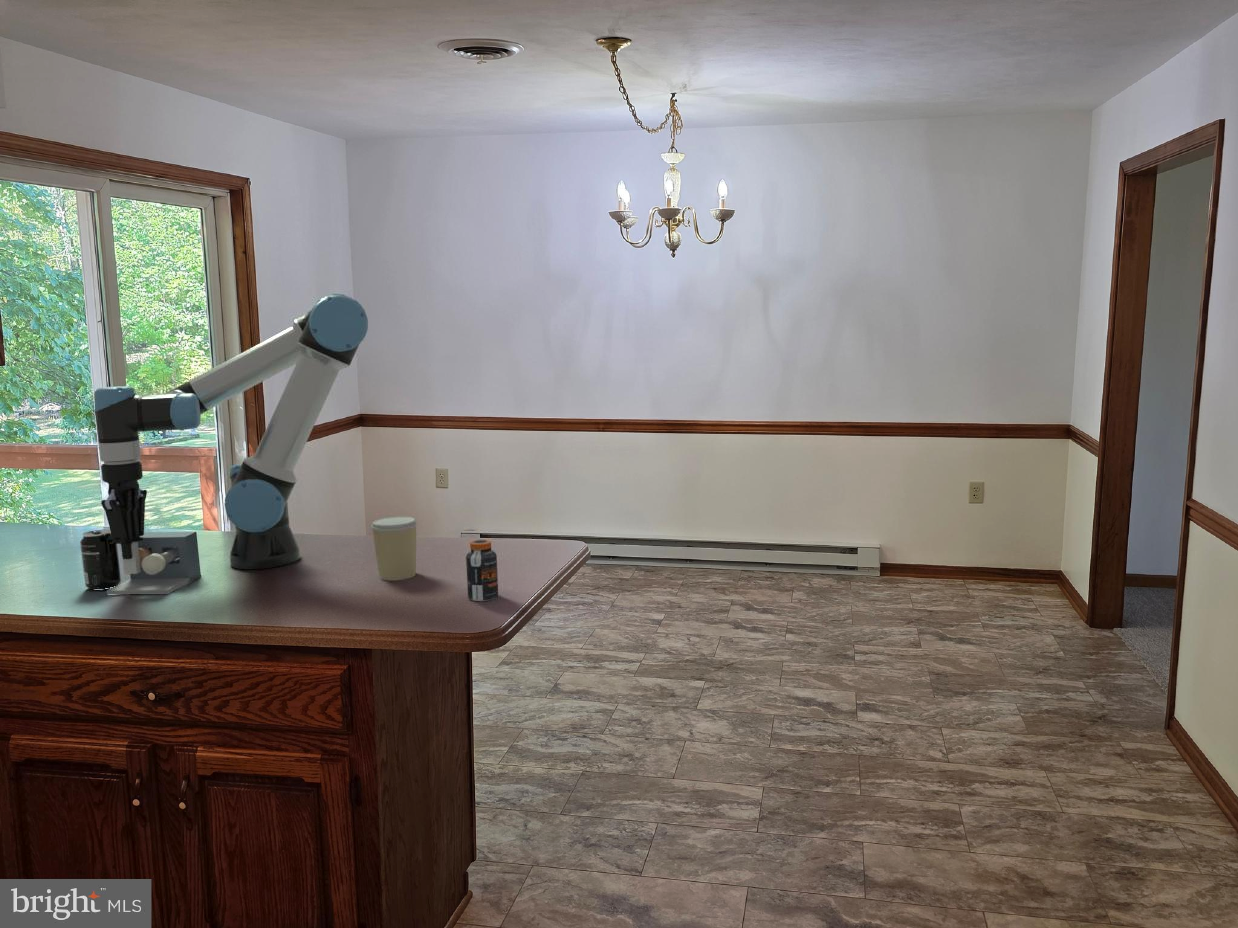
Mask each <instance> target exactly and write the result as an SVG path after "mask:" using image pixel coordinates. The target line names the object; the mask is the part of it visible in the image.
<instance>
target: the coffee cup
mask: <svg viewBox="0 0 1238 928" xmlns="http://www.w3.org/2000/svg"><path fill="white" fill-rule="evenodd" d="M371 530H372V535H373V543H374V550H375V557H376V565H377V571H378V577H379V578H380V580H382V581H391V582H392V581H402V580H408V579H411V578H414V577H415V576H416V575H417V574H416V573H417V521H416V519H415V517H414V518H413V517H410V516H391V517H383V518H379V519H376V520H374V521H373V522H372V524H371Z"/></svg>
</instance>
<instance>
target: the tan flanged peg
mask: <svg viewBox="0 0 1238 928" xmlns="http://www.w3.org/2000/svg"><path fill="white" fill-rule="evenodd" d="M138 549H139V560H140V568H141V567H142V560H143V559H144V558H145V557H147V556H149V555H151V554H152V551H151V548H145V547H140V548H138Z"/></svg>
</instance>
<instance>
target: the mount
mask: <svg viewBox="0 0 1238 928" xmlns="http://www.w3.org/2000/svg"><path fill="white" fill-rule="evenodd" d="M140 537H143V540H142V541H138V548H140V547H145V548H151V551H152V554H154V553H157V554H162V553H164V552H166V551H168V550H170V549H172V548H175V547H178V549H179V558H178V559H176V560H174V561H172V562H170V563H168V564H166V565H165V568H164V569H163V570H162V571H160V572H158V573H156V574H154V575H150V574H147V573H146V572H145V571H144V570H143V568H142V567H141V568H140V570H141V572H139V573H137V574H130V576H129V577H130V578H129V579H127V580H125V581H123V582H122V583H121V582H120V583H119V584H118V585H117V586H115V587H113V588H111V589H108V590H106V595H107V594H168V595H170V594H172V593H174V592H175V591H177V590H179V589H181V588H182V587H184V586H186V585H187V584H188V585H189V583H191V582H193V581H195V580H196V579H199V578H200V577H201V576H202V575H201V574H202V573H201V572H202V571H201V562H200V554H199V544H198V534H197V531H163V532H162V531H158V532H156V531H155V532H154V531H153V532H150V531H149V532H144V535H143V536H140ZM180 587H181V588H180ZM176 589H177V590H176ZM174 590H175V591H174ZM173 591H174V592H173ZM171 592H172V593H171Z"/></svg>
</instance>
